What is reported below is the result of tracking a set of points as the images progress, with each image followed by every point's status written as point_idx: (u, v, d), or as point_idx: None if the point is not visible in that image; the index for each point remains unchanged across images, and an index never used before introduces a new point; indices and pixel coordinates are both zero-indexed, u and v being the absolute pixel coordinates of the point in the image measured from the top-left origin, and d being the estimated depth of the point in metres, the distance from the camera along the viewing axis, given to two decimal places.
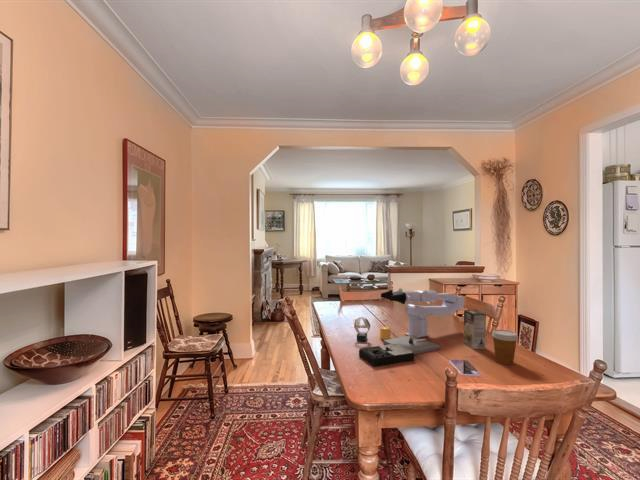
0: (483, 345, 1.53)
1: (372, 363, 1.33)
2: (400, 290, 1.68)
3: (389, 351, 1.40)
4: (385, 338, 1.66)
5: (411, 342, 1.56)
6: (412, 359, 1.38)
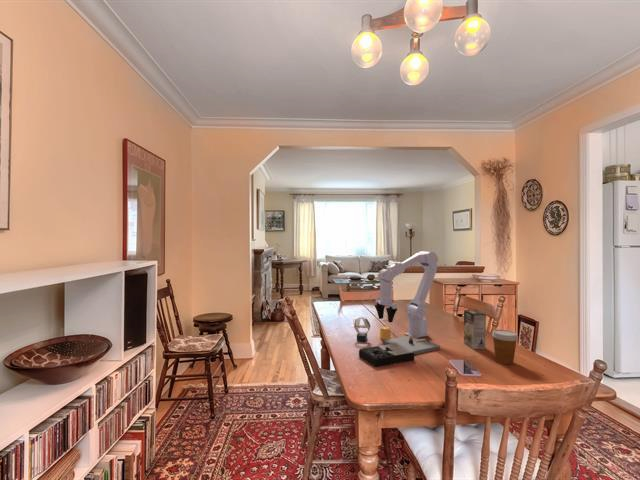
0: (483, 345, 1.53)
1: (373, 363, 1.33)
2: (381, 304, 1.67)
3: (389, 351, 1.40)
4: (385, 338, 1.66)
5: (411, 342, 1.56)
6: (412, 359, 1.39)
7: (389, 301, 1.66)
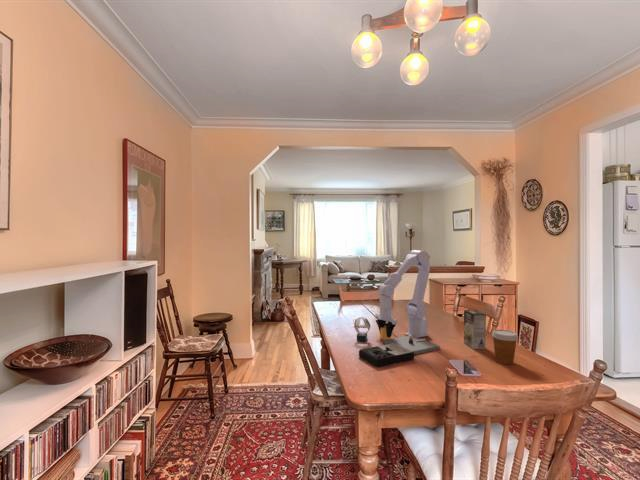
0: (483, 345, 1.53)
1: (374, 364, 1.33)
2: None
3: (389, 351, 1.40)
4: (385, 338, 1.66)
5: (411, 342, 1.56)
6: (412, 358, 1.39)
7: (389, 316, 1.66)
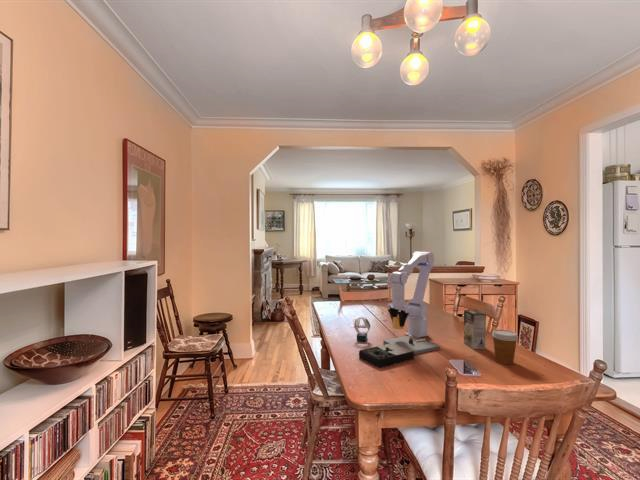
0: (483, 345, 1.53)
1: (376, 364, 1.32)
2: (393, 308, 1.61)
3: (389, 351, 1.40)
4: (398, 328, 1.60)
5: (411, 342, 1.56)
6: (412, 358, 1.40)
7: (402, 305, 1.60)
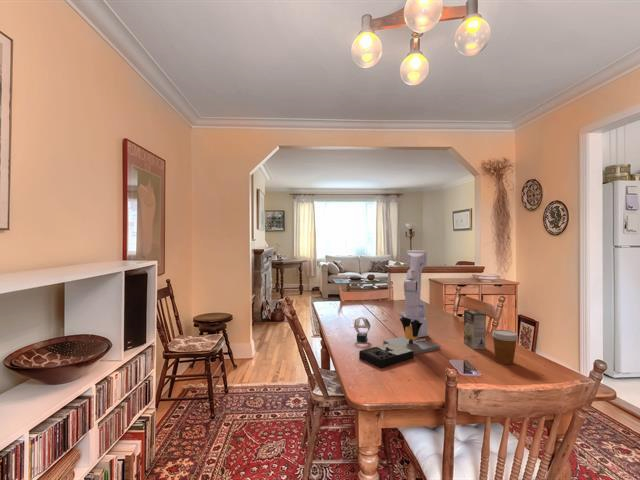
0: (483, 345, 1.53)
1: (377, 364, 1.32)
2: (406, 317, 1.55)
3: (390, 351, 1.40)
4: (411, 338, 1.54)
5: (411, 342, 1.56)
6: (412, 357, 1.40)
7: (415, 314, 1.54)
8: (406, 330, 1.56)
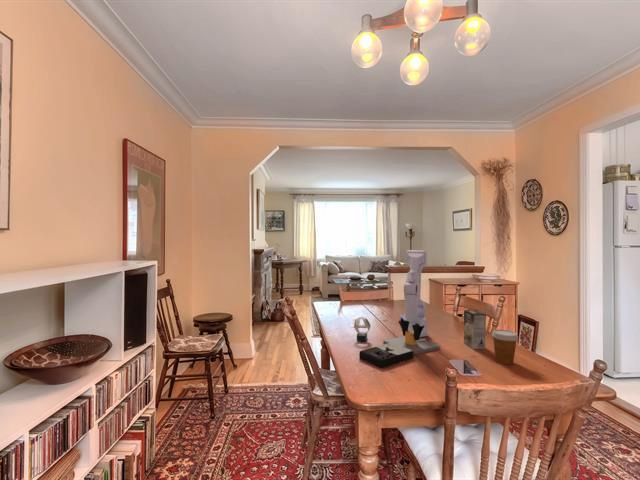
0: (483, 345, 1.53)
1: (379, 365, 1.32)
2: (406, 320, 1.55)
3: (390, 351, 1.40)
4: (411, 343, 1.54)
5: None
6: (412, 357, 1.41)
7: (415, 317, 1.54)
8: (406, 335, 1.56)
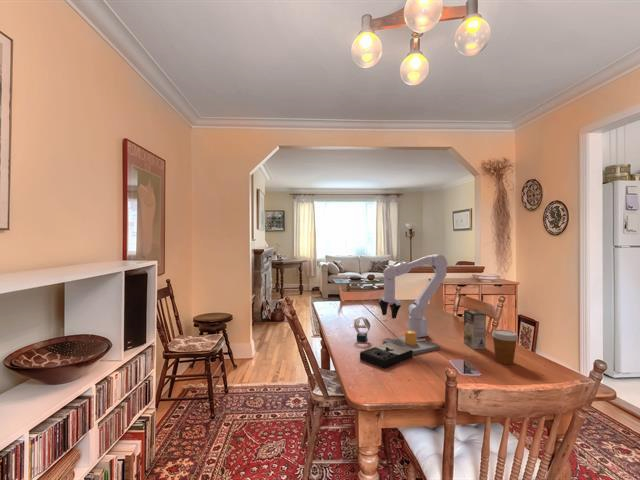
0: (483, 345, 1.53)
1: (381, 365, 1.31)
2: (385, 300, 1.73)
3: (390, 351, 1.40)
4: (411, 343, 1.54)
5: None
6: (411, 356, 1.42)
7: (393, 298, 1.72)
8: (406, 335, 1.56)
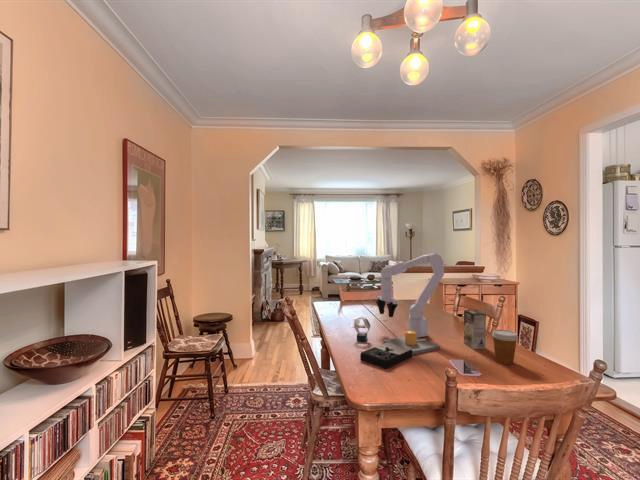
0: (483, 345, 1.53)
1: (383, 365, 1.31)
2: (382, 299, 1.76)
3: (390, 351, 1.40)
4: (411, 343, 1.54)
5: None
6: (411, 356, 1.42)
7: (390, 297, 1.75)
8: (406, 335, 1.56)
